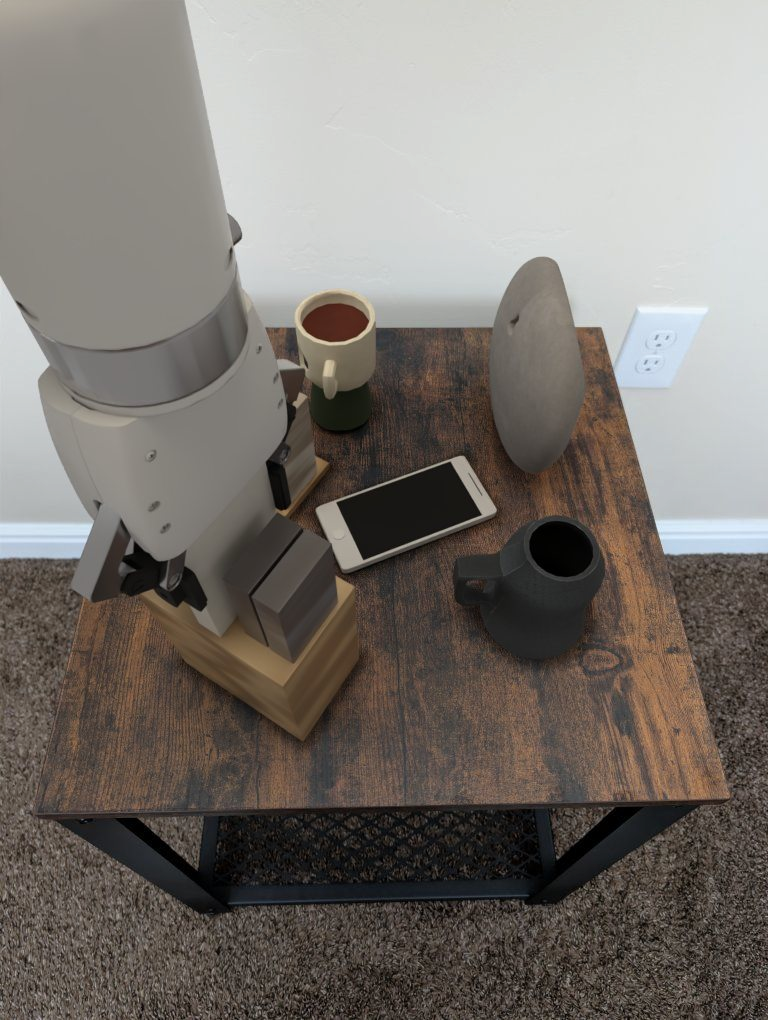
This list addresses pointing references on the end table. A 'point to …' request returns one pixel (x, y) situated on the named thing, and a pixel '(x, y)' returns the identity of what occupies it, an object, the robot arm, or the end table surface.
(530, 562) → the mug
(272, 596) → the wooden stand
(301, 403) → the grey-brown wooden block stand
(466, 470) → the smartphone
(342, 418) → the character mug
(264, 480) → the grey flat block
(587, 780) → the end table surface
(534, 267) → the grey oval stone
